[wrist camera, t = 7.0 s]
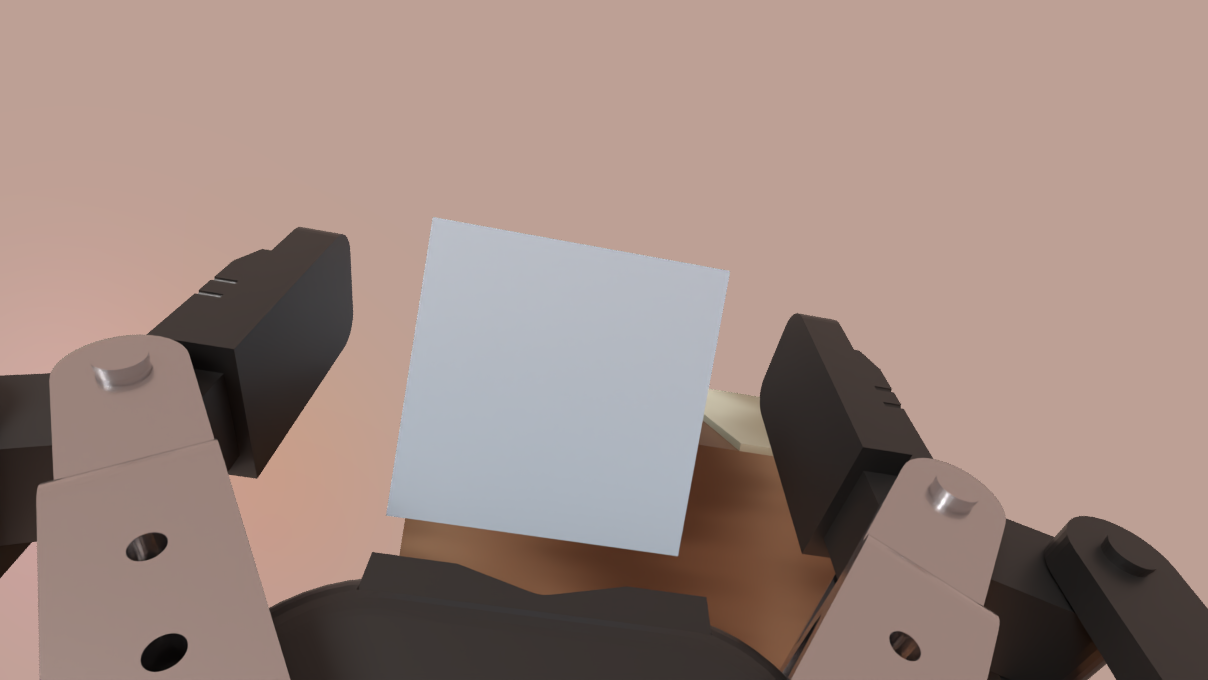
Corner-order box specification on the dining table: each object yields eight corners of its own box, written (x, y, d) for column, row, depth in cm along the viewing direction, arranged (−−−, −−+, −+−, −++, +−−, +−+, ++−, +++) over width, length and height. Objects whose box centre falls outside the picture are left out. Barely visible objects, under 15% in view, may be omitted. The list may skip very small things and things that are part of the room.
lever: (386, 515, 7) (433, 216, 7) (512, 356, 27) (525, 277, 27) (678, 555, 7) (729, 270, 7) (590, 369, 27) (604, 291, 27)
